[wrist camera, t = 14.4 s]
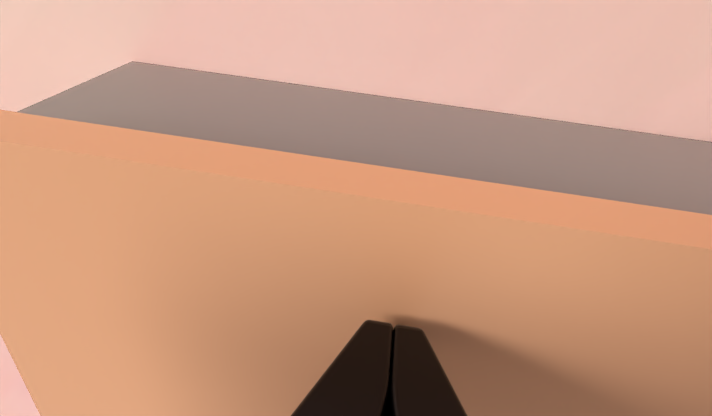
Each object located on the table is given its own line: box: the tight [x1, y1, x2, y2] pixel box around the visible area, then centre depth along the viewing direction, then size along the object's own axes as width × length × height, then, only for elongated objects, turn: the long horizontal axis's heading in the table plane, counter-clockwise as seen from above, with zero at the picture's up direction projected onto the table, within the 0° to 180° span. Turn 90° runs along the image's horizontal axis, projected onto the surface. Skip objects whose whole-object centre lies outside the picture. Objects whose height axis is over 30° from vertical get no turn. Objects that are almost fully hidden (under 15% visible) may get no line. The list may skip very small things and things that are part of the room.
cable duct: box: [18, 61, 712, 215], centre depth 12 cm, size 9×14×4 cm, turn 84°
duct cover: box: [0, 110, 712, 416], centre depth 9 cm, size 10×14×1 cm
